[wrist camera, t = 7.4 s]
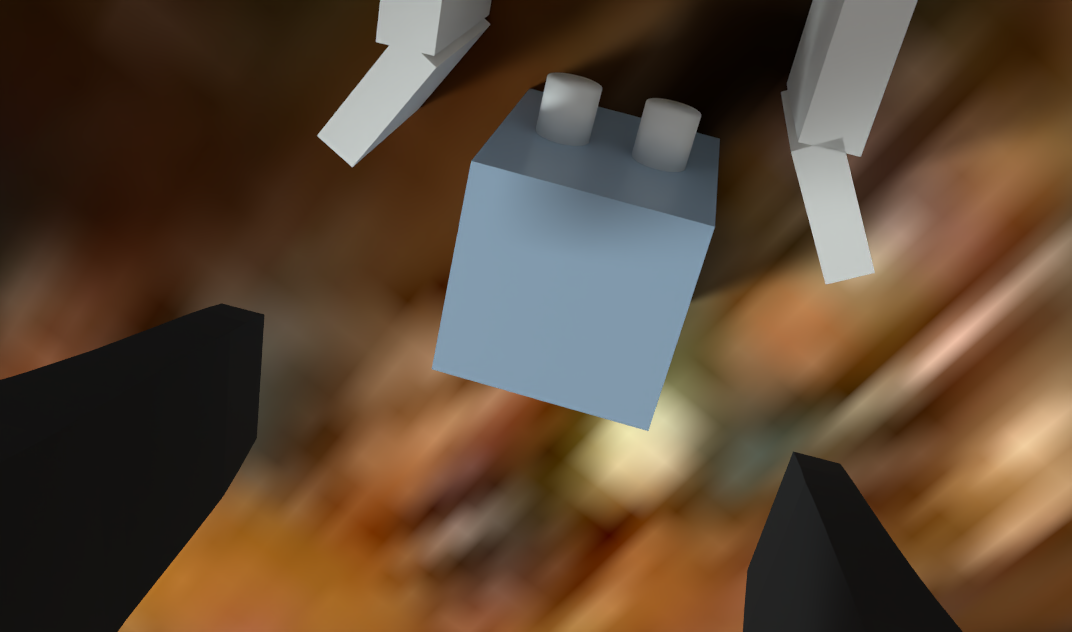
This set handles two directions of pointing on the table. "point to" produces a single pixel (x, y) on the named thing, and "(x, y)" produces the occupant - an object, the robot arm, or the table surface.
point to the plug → (580, 250)
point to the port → (809, 103)
